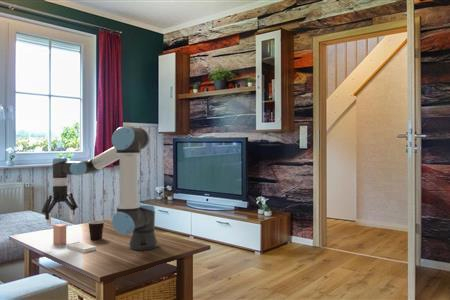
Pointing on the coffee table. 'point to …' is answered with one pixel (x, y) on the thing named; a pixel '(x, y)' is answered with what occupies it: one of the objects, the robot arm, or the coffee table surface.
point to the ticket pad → (81, 247)
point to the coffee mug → (96, 230)
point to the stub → (59, 234)
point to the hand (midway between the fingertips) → (60, 223)
